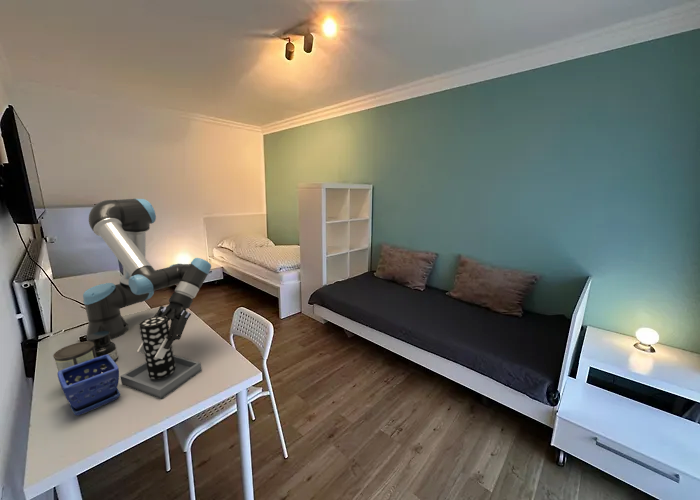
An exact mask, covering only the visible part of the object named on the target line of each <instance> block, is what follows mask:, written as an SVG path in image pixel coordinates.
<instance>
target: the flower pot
mask: <svg viewBox="0 0 700 500" xmlns="http://www.w3.org/2000/svg"><path fill="white" fill-rule="evenodd" d="M104 364H105V365H106V366H105V368H101V367H100V366H102V365H104ZM86 369H89V372H87V373H85V372H84V370H86ZM94 369H97V371H96V372H93V371H94ZM93 375H94V376H93ZM70 376H72V377H70ZM77 376H81V378H80V380H79V381H75V378H76V377H77ZM86 376H89V378H88V379H85V377H86ZM57 378H58V382H59V384H60V387H61V389H62V392H63V394H64V396H65V398H66V400H67V402H68V403H69V405H70V408H71V411H72V413H73V415H75V416H80V415H83V414H86V413H88V412H91V411H93V410H95V409H98V408H100V407H102V406H104V405H106V404H109V403H111V402H113V401H115V400H117V399H118V398H119V397H120V396H121V392H120V390H119V389H118V385H119V380H120V368H119V366H118V364H117V363H116V361H115V362H114V361H113V359H112V358H111V357H110V356H109V355H103V356H100V357H97V358H94V359H91V360H88V361H85V362H82V363H79V364H76V365H74V366H71V367H68V368H65V369H63V370H60V371H58V370H57ZM66 381H68V382H66ZM71 383H72V384H71ZM69 384H71V385H69Z"/></svg>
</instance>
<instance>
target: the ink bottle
mask: <svg viewBox="0 0 700 500" xmlns="http://www.w3.org/2000/svg"><path fill="white" fill-rule="evenodd" d="M87 341H89V342H93V343H94V348H95V352H96V357H100V356H103V355H109V356H110V357H111V358H112V359H113V361H114V362H115V363H116V362H117V360H119V355H118V351H117V350H118V349H117V345H116V343H115V342H113V341H112V339H111V338H110V333H109V332H108V331H100V332H96V333H93V334H91V335H89V336H88V337H87V336H86V342H87ZM100 367H101V369H103V368H104V367H105V368H106V365H105V364H104V365H102V366H100Z"/></svg>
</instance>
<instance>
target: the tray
mask: <svg viewBox="0 0 700 500" xmlns="http://www.w3.org/2000/svg"><path fill="white" fill-rule="evenodd" d="M174 361H175V367H176V369H175V371H174V372H173V373H171V374H170V375H168V376H166V377H163V378H160V379H151V378H150V377H149V374H148V369H147V364H146V361H144V362H143V363H141V364H139V365H137V366H135V367H134V368H132V369H131V370H129V371H127V372H125V373H123V374H122V375H119V378H120V381H121V385H122V386H124V387H126V388H129V389H133V390H135V391H138V392H141V393H143V394H145V395H147V396H148V395H149V396H151V397H154V398H155V399H156V398H157V399H159V400H163V399H164V398H166V397H167V396H169V395H170V394H171V393H173V392H174V391H175V390H177V389H178V388H180V387H181V386H183V385H184V384H186V382H188V381H190V380H191V379H193V378H194V377H195V376H196V375H198V374H199V373H201V372H202V371H203V368H202V363H201V362H199V361H197V360H192V359H190V358H186V357H183V356H180V355H177V354H174Z"/></svg>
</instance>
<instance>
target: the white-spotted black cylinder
mask: <svg viewBox="0 0 700 500" xmlns="http://www.w3.org/2000/svg"><path fill="white" fill-rule="evenodd" d="M138 326H139V331H140V336H141V344H142V343H143V348H144V353H145V354H144V357H145V358H144V359H145V362H146V364H147V369H148V374H149V377H150V378H151V379H160V378H163V377H166V376H168V375H170V374H171V373H173V372H174V371H175V369H176V367H175V361H174V355H175V354H174V349H173V344H172V345H171V346H170V348H169V349H168V350H167V352H166V353H165V355H164V357H163V359H159V358H156V357H155V355H156V353H157V352H158V350H159V348H160V346H161V345H162V343H163V341H164V339H165V338H166V337H167V336H168V334H169V329H170V326H169V321H168V318H167V317H165V316H156V317H154V316H152V317H148V318H146V319H143V320H142V321H141V322H139V324H138ZM167 339H168V338H167Z"/></svg>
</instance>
